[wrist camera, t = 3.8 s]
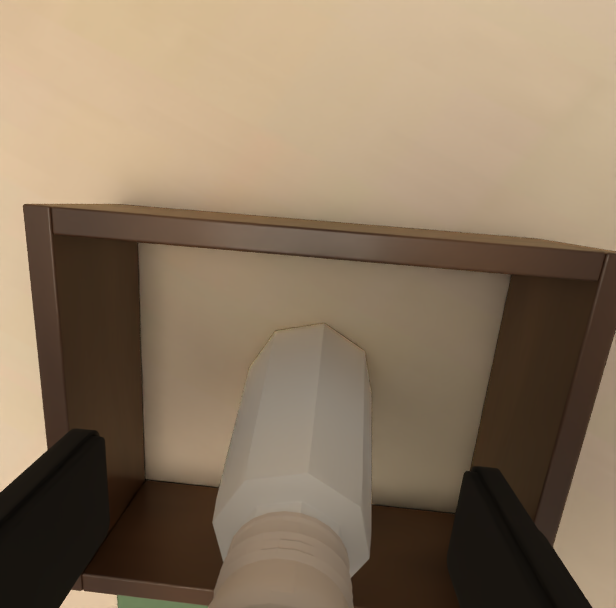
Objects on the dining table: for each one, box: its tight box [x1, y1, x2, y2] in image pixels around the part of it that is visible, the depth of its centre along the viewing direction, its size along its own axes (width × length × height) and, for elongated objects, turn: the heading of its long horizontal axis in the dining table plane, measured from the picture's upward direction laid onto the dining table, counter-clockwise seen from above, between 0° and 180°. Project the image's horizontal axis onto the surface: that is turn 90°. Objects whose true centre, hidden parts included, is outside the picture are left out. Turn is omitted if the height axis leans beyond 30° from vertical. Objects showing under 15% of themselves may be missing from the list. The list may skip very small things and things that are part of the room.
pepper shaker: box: [208, 323, 372, 608], centre depth 12 cm, size 5×5×11 cm
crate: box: [23, 204, 616, 608], centre depth 15 cm, size 17×14×5 cm
